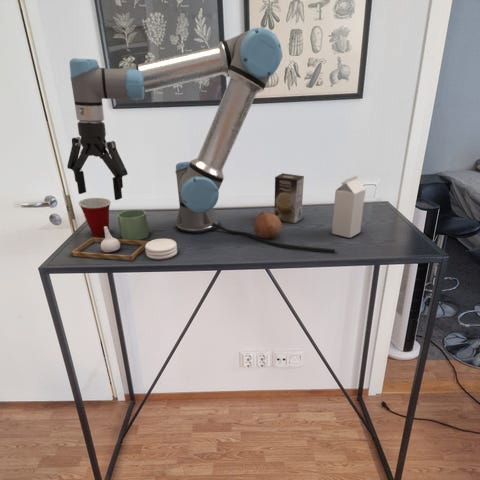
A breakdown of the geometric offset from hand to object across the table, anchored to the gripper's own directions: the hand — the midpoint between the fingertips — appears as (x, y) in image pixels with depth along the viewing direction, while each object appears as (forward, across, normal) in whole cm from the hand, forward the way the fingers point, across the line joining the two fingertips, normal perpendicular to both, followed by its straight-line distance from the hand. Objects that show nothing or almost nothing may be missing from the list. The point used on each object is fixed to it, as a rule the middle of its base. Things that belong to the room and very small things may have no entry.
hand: (100, 196), depth 132 cm
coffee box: (+13, +49, +46) cm, 69 cm away
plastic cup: (+18, -11, +11) cm, 23 cm away
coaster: (+16, +20, +2) cm, 26 cm away
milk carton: (+12, +73, +37) cm, 82 cm away
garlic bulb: (+18, +2, -1) cm, 18 cm away
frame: (+17, +2, -1) cm, 18 cm away
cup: (+17, +2, +13) cm, 21 cm away
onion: (+14, +48, +25) cm, 56 cm away
